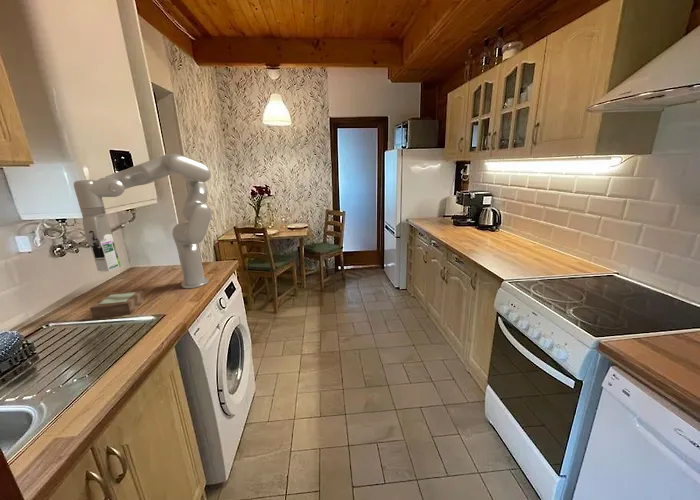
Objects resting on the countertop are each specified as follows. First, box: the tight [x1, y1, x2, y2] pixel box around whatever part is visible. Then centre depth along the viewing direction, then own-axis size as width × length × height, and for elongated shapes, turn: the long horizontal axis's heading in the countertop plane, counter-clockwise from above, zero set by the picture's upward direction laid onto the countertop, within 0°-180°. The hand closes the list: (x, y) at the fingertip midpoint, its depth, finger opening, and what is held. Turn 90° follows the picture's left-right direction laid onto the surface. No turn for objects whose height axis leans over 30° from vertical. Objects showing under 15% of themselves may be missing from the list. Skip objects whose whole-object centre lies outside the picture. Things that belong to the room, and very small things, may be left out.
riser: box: [89, 290, 145, 320], centre depth 137 cm, size 14×14×5 cm
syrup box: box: [89, 233, 122, 272], centre depth 131 cm, size 6×6×14 cm
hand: (105, 254), depth 131 cm, fingers closed on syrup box, 7 cm apart
